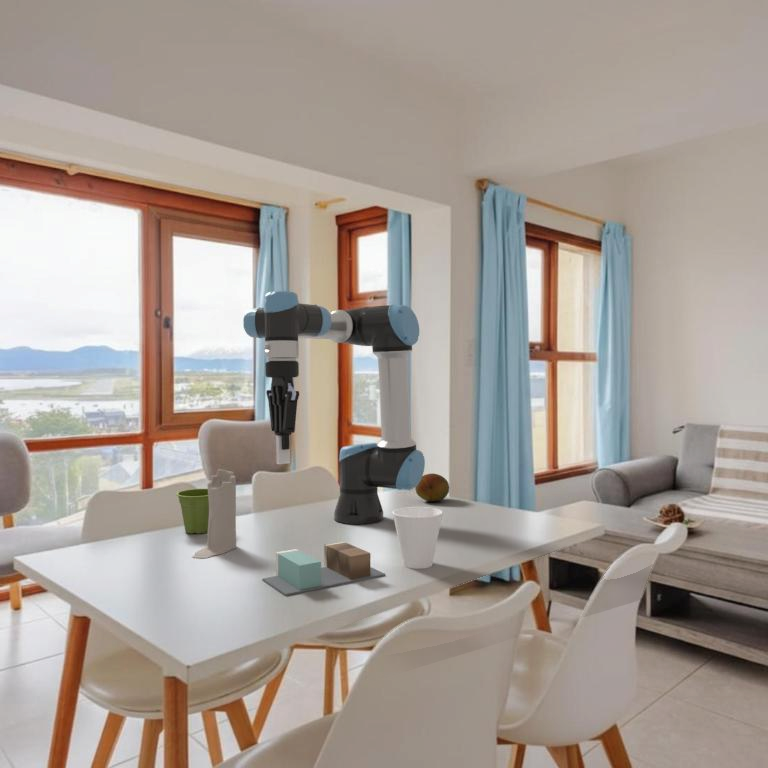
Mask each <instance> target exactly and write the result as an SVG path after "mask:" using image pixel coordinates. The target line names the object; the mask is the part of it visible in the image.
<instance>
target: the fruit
mask: <svg viewBox="0 0 768 768" xmlns="http://www.w3.org/2000/svg"><path fill="white" fill-rule="evenodd" d="M414 489H415V493H416V495H417V496H418V497H419V498H421V499H422V500H424V501H426V502H431V503H432V502H433V503H435V502H439V501H442V500H443V499H445V498H447V496H448V494H449V492H450V484H449V482H448V480H447V479H446V478H445V477H444V476H443V475H440V474H438V473H426V474H423V476H422V478H421V480H420V482H419V484H418V485H417V486H416V487H415V488H414Z"/></svg>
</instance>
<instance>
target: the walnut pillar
mask: <svg viewBox="0 0 768 768" xmlns="http://www.w3.org/2000/svg"><path fill="white" fill-rule="evenodd" d="M323 547H324V548H323V549H324V550H323V551H324V554H323V555H324V557H323V558H324V560H323V561H324V566H323V567H327V568H329V569H331V570H333V571H335V572H337V573H339V574H341V575H343V576H344V577H346V578H348V579H350V580H352V579H357V578H362V577H367V576H371V575H370V567H371V552H370V551H366V550H364V549H363V548H359V547H357V546H354V545H352V544H350V543H347V542H345V541H338V542H332V543H327V544H324V546H323Z"/></svg>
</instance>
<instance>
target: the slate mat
mask: <svg viewBox="0 0 768 768" xmlns="http://www.w3.org/2000/svg"><path fill="white" fill-rule="evenodd" d="M370 575H371V576H367V577H362V578H357V579H352V580H350V579H348V578H346V577H344V576H343V575H341V574H339V573H337V572H335V571H333V570H331V569H329V568H327V567H325V566H322V567H321V586H316V587H311V588H306V589H301V590H299V589H298V588H296V587H294V586H293V585H291V584H290V583H288V582H286V581H285V580H283V579H282V578H280V577H279V576H277V575H275V576H269V577H263V578H262V580H261V581H263V582H264V583H265V584H267V585H268V586H270V587H271V586H272V588H273V589H274V588H275V589H274V590H276V591H277V590H278V591H277V592H279V593H280V594H282V595H284V596H285V597H287V596H291V595H298V594H301V593H307V592H311V591H312V592H313V591H317V590H322V589H325V588H332V587H337V586H341V585H346V584H347V585H348V584H351V583H356V582H360V581H366V580H371V579H376V578H380V577H385V576H386V573H385V572H382V571H380V570H378V569H376V568H374V567H372V566H370Z"/></svg>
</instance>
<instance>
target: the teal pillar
mask: <svg viewBox="0 0 768 768" xmlns="http://www.w3.org/2000/svg"><path fill="white" fill-rule="evenodd" d="M321 568H322V561H321V560H319V559H317V558H315V557H313V556H311V555H309V554H308V553H305V552H303V551H301V550H300V549H297V548H294V549H289V550H281V551H276V552H275V576H279V577H280V578H282V579H283V580H285V581H286V582H288V583H290V584H291V585H293V586H294V587H296V588H298V589H299V590H301V589H306V588H311V587H316V586H321Z"/></svg>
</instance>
